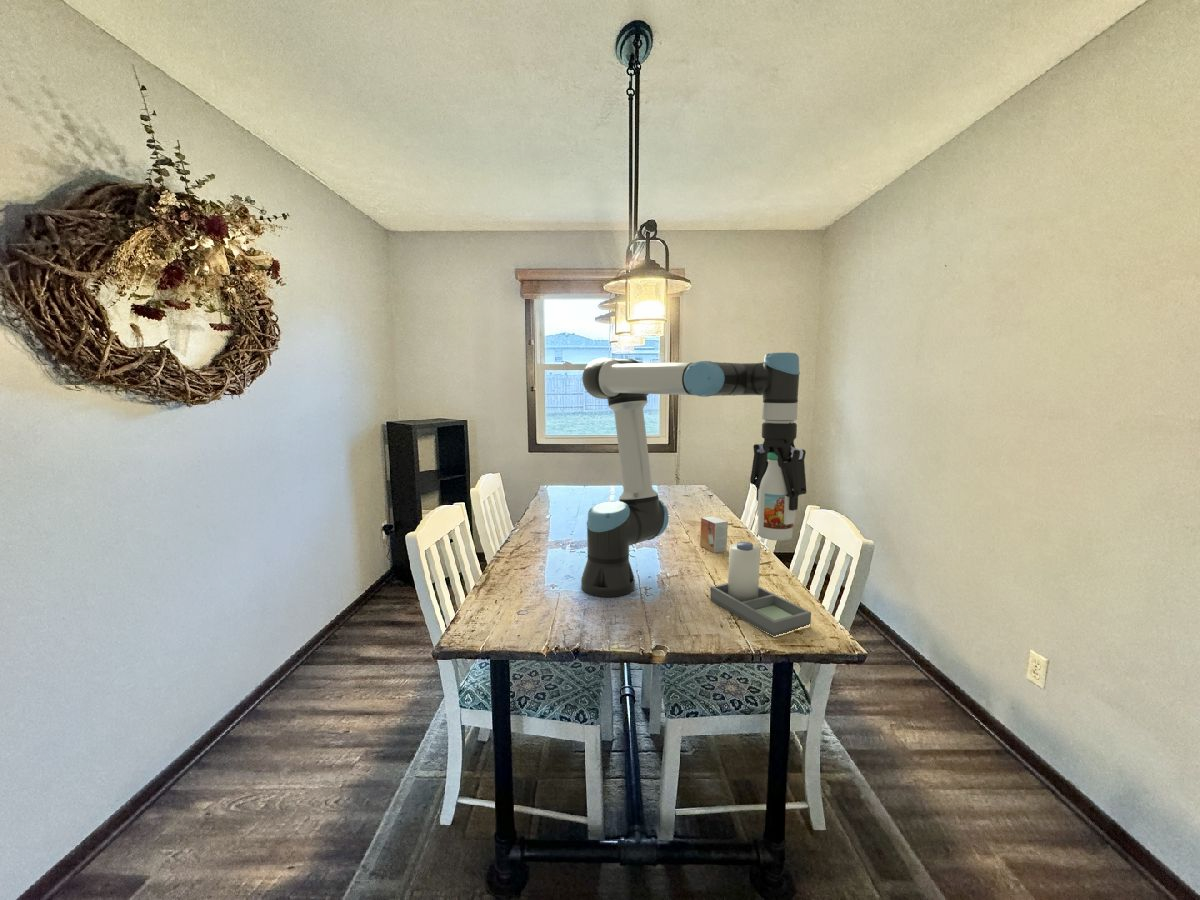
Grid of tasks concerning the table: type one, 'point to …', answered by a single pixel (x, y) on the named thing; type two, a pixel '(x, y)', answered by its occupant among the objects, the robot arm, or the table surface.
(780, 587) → the table surface
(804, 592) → the table surface
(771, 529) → the milk bottle
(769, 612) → the tray
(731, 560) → the twin bottle
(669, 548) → the table surface
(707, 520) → the small box
